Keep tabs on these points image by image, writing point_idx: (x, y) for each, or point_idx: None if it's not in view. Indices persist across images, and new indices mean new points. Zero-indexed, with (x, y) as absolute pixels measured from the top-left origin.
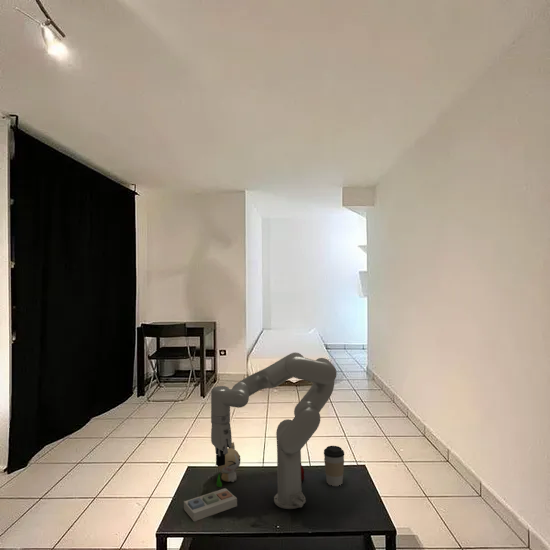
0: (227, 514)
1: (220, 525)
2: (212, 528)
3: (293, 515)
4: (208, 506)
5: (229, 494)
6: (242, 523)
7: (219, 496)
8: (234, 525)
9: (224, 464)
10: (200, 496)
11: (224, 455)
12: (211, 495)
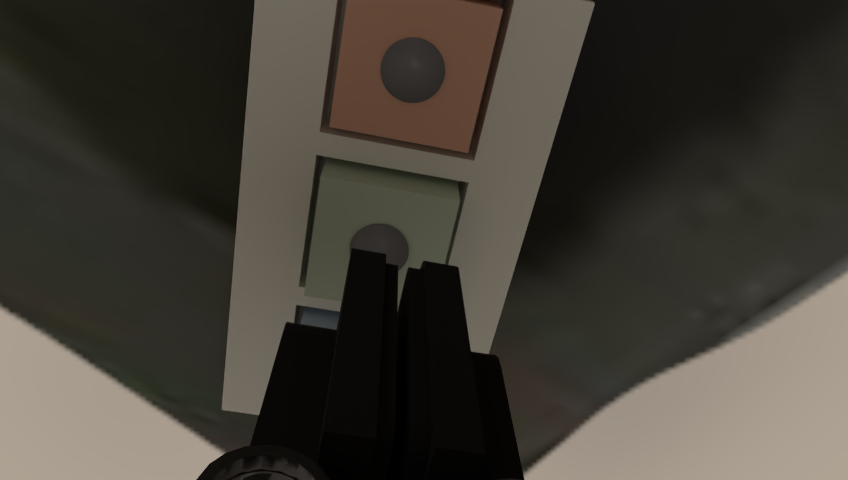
0: (602, 161)
1: (671, 296)
2: (645, 355)
3: None
4: (470, 315)
5: (457, 19)
6: (824, 157)
7: (401, 137)
8: (776, 223)
9: (452, 274)
10: (241, 267)
11: (476, 448)
12: (352, 221)
